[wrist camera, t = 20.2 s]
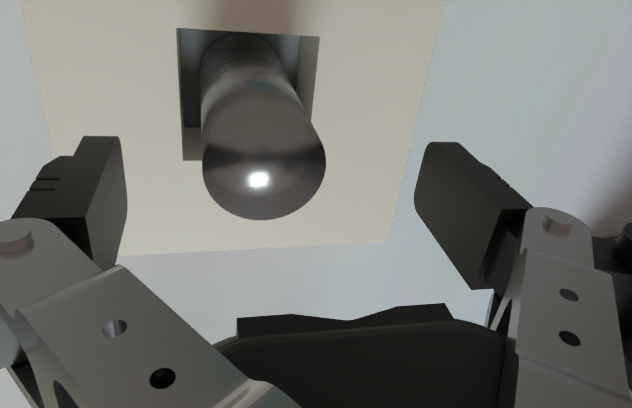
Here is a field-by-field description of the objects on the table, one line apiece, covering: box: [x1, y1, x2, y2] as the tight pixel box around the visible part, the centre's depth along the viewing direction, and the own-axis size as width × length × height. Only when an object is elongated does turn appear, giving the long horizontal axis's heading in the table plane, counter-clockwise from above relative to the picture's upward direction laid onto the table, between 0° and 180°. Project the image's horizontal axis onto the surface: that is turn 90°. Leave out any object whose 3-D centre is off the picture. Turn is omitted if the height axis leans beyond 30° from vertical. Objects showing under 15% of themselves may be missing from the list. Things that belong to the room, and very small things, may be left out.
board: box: [19, 0, 445, 256], centre depth 17 cm, size 13×13×3 cm
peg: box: [200, 32, 326, 220], centre depth 15 cm, size 3×3×8 cm
